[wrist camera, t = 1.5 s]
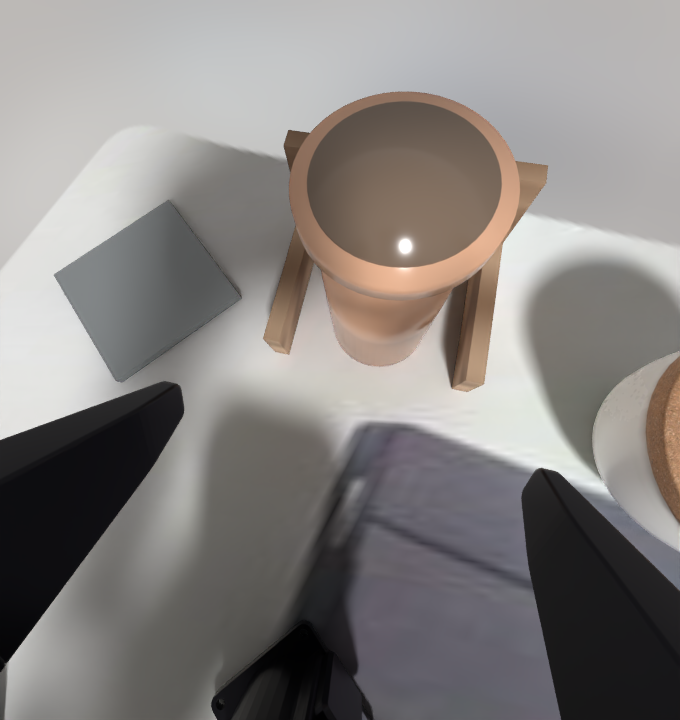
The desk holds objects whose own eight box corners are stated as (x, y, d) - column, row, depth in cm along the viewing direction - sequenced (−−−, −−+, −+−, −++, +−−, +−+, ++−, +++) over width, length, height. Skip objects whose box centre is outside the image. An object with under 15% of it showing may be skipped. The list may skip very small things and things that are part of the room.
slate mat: (121, 382, 23) (115, 380, 23) (60, 278, 25) (53, 274, 25) (241, 297, 24) (238, 294, 24) (172, 205, 26) (168, 199, 26)
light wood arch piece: (467, 391, 22) (527, 364, 14) (275, 351, 23) (232, 306, 15) (486, 254, 24) (548, 165, 16) (310, 225, 25) (288, 129, 18)
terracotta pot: (370, 395, 22) (385, 332, 9) (306, 314, 24) (244, 166, 11) (453, 330, 23) (573, 190, 10) (386, 256, 24) (416, 53, 12)
